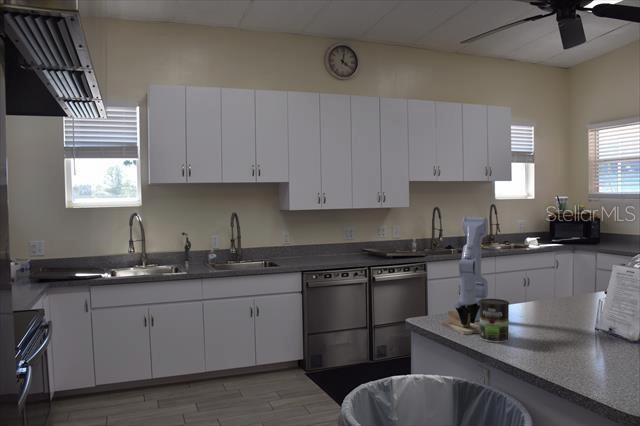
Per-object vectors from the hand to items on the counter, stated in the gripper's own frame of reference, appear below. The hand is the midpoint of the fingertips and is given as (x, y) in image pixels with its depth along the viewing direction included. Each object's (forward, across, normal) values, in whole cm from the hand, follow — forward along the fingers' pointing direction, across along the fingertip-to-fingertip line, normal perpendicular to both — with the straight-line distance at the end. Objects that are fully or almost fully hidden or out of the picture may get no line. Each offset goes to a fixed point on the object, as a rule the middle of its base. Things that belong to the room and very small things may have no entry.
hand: (467, 323), depth 200 cm
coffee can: (+3, +3, +14) cm, 14 cm away
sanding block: (+1, 0, -5) cm, 5 cm away
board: (+3, -2, -2) cm, 4 cm away
